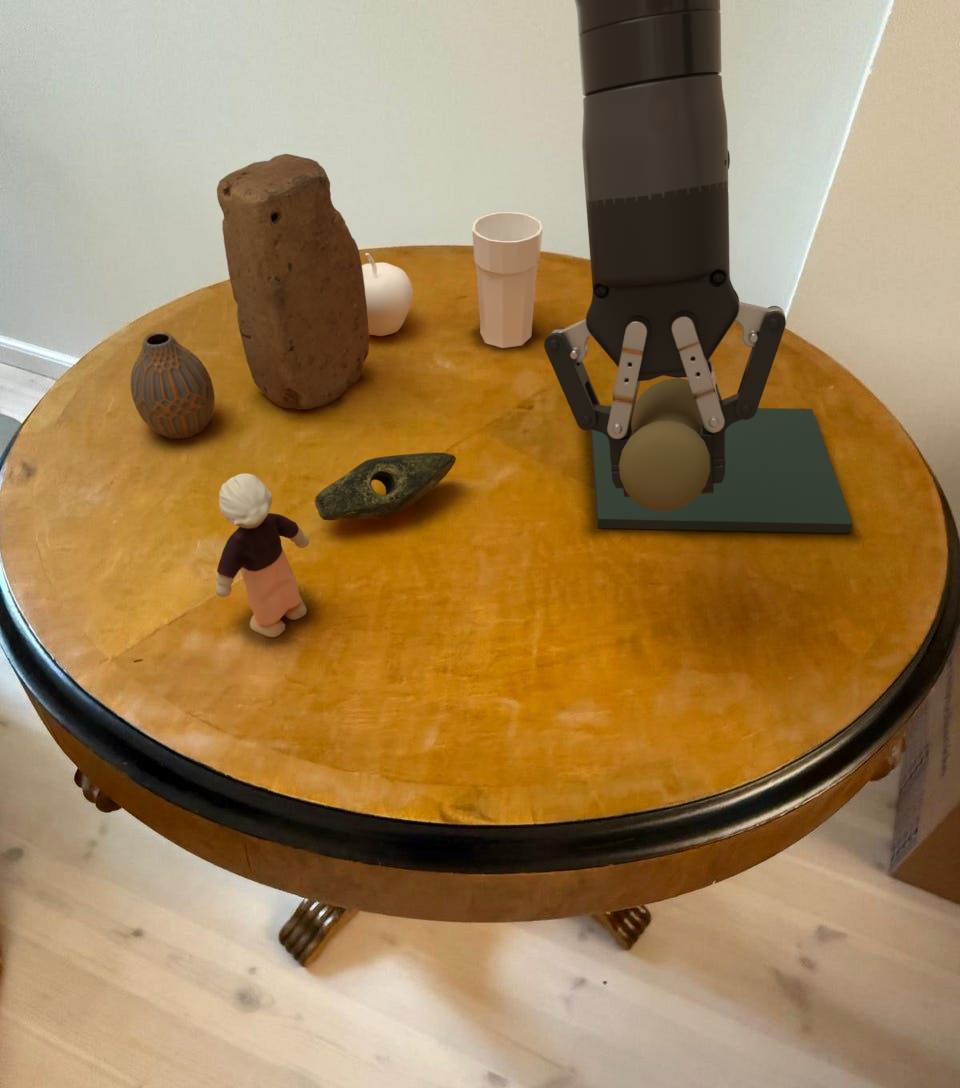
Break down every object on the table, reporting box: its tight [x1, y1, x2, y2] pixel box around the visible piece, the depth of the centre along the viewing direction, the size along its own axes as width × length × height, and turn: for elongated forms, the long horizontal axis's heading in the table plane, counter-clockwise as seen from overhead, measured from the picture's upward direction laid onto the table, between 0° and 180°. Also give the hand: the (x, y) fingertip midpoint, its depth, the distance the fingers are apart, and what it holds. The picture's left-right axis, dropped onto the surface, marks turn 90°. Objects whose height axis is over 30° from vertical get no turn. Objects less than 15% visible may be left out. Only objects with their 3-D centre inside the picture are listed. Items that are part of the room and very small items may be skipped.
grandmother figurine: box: [214, 473, 310, 638], centre depth 63 cm, size 8×4×13 cm, turn 150°
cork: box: [619, 378, 710, 511], centre depth 57 cm, size 6×6×11 cm
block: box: [216, 153, 370, 410], centre depth 81 cm, size 11×8×20 cm
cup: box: [471, 211, 543, 349], centre depth 91 cm, size 7×7×11 cm
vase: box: [130, 331, 216, 440], centre depth 81 cm, size 7×7×9 cm
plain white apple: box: [362, 252, 414, 337], centre depth 93 cm, size 7×7×8 cm
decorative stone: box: [314, 452, 457, 521], centre depth 74 cm, size 11×8×5 cm
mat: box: [590, 405, 853, 534], centre depth 79 cm, size 20×16×1 cm
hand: (669, 489), depth 57 cm, fingers closed on cork, 4 cm apart
